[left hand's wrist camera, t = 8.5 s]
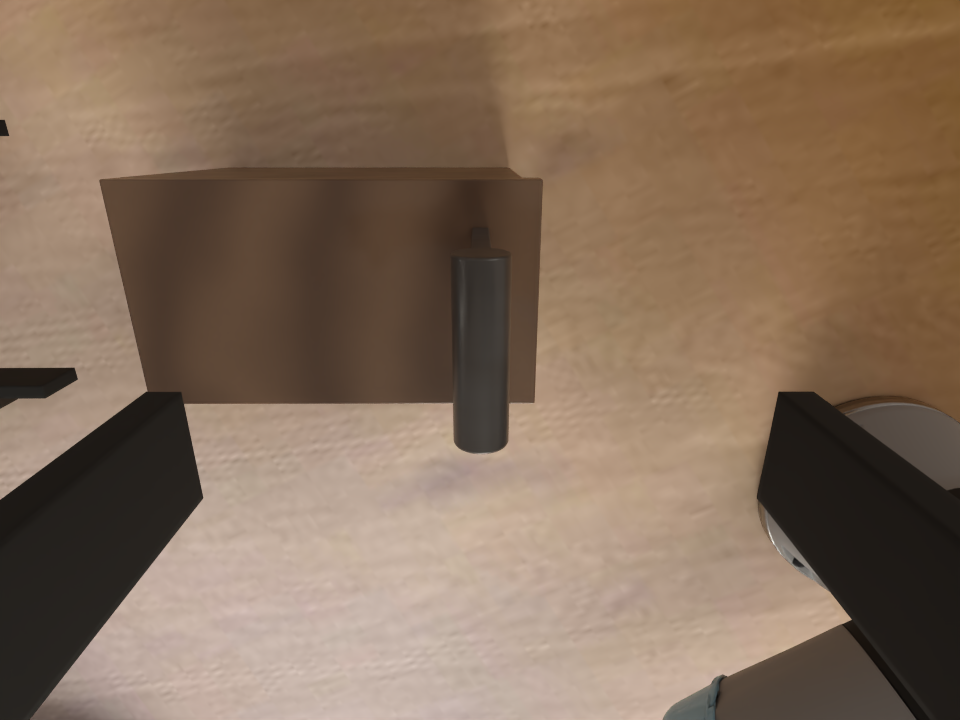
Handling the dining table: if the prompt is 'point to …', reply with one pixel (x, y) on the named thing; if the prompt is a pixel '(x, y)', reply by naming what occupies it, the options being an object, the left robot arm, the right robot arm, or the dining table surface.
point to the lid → (336, 291)
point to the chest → (341, 173)
